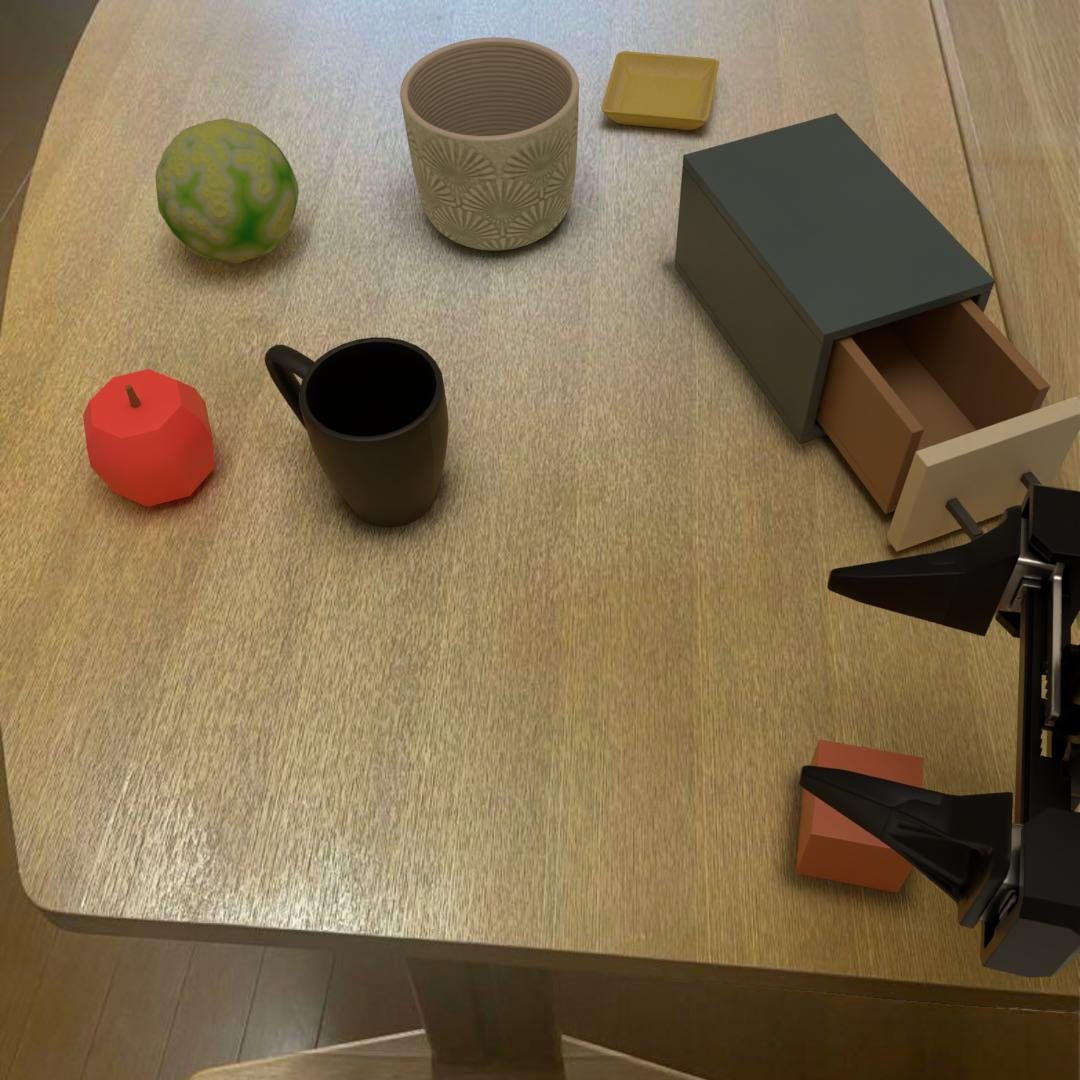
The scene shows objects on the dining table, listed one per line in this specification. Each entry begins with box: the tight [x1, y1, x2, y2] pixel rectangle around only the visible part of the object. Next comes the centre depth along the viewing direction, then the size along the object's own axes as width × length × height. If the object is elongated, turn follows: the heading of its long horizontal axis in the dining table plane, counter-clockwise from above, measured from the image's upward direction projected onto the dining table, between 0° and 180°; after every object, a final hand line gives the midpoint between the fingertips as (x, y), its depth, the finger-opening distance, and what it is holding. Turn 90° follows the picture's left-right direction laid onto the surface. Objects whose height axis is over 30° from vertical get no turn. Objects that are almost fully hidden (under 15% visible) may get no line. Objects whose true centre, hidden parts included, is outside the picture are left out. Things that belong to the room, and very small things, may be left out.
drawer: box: [816, 298, 1080, 552], centre depth 71 cm, size 22×10×8 cm, turn 22°
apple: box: [82, 368, 216, 508], centre depth 73 cm, size 8×8×8 cm
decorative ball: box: [154, 117, 300, 264], centre depth 85 cm, size 10×10×10 cm
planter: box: [399, 36, 580, 252], centre depth 86 cm, size 12×12×11 cm
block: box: [795, 739, 924, 894], centre depth 58 cm, size 5×5×5 cm
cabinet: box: [674, 112, 996, 445], centre depth 79 cm, size 19×12×10 cm, turn 22°
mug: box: [264, 336, 450, 528], centre depth 72 cm, size 8×12×10 cm
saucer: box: [600, 50, 721, 131], centre depth 98 cm, size 9×9×2 cm
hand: (815, 671), depth 47 cm, fingers open, 9 cm apart
